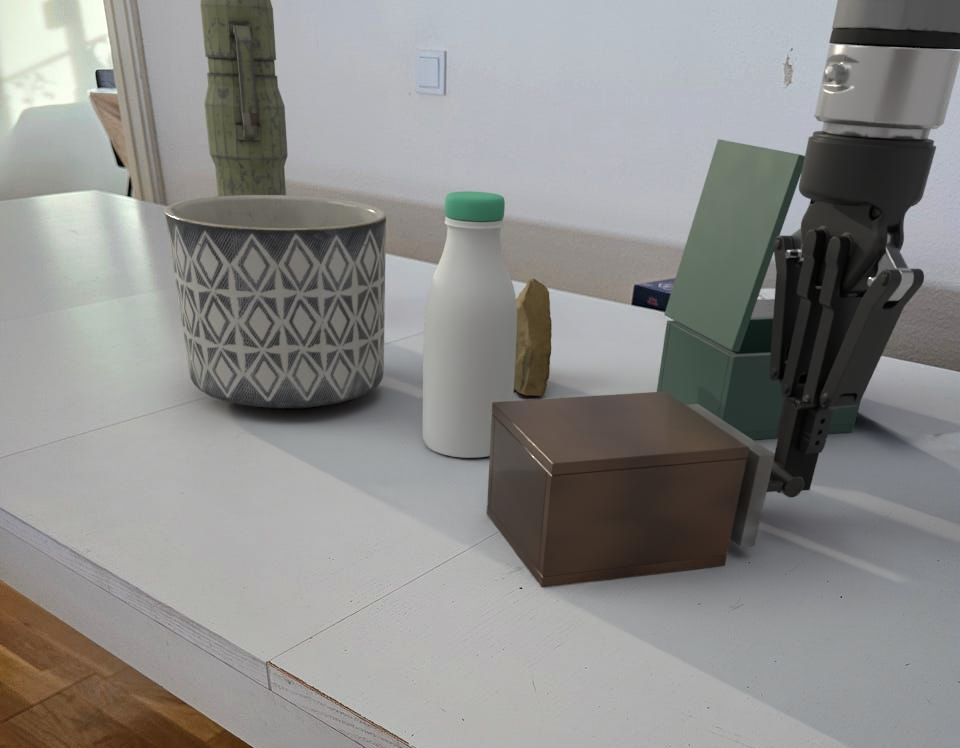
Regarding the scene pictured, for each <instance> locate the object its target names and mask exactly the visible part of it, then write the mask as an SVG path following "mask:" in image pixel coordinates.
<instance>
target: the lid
mask: <svg viewBox="0 0 960 748" xmlns="http://www.w3.org/2000/svg"><path fill="white" fill-rule="evenodd" d="M713 150H714V151H713V154H712V156H711V160H710V164H709V167H708V171H707V173H706V177H705V180H704V184H703V186H702V190H701V193H700V197H699V200H698V203H697V206H696V210H695V213H694V217H693V220H692V222H691V226H690V229H689V232H688V235H687V239H686V243H685V246H684V248H683V253H682V256H681V258H680V263H679V266H678V269H677V272H676V275H675V278H674V282H673V285H672V288H671V292H670V295H669V299H668V302H667V304H666V308H665V312H664V316H665V317H667V318H669V319H671V320H672V321H674V320H675V321H676V322H678V323H680V324H682V325H684V326H686V327H688V328H690V329H691V330H693V331H695V332H697V333H699V334H701V335H703V336H705V337H707V338H708V339H710V340H712V341H714V342H716V343H718V344H720V345H722V346H724V347H725V348H727V349H729V350H731V351H735V352H739V350H740V347H741V345H742V342H743V339H744V336H745V333H746V330H747V327H748V325H749V322H750V319H751V317H753V313H754V310H755V307H756V305H757V301H758V299H759V296H760V293H761V290H762V287H763V284H764V282H765V278H766V276H767V274H768V273H767V272H768V270H769V267H770V264H771V261H772V258H773V255H774V241H775V239H776V237H777V236H781V233H782V229H783V227H784V224H785V221H786V219H787V215H788V212H789V210H790V207H791V204H792V201H793V199H794V195H795V192H796V190H797V186H798V185H799V182H800V178H801V173H802V168H803V163H804V158H805V155H803V154H799V153H794V152H788V151H784V150H778V149H774V148H773V149H771V148H767V147H761V146H755V145H750V144H746V143H742V142H741V143H740V142H735V141H731V140H730V141H729V140H724V139H720V138H719V139H717V140H716V144H715V148H714V149H713Z"/></svg>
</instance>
